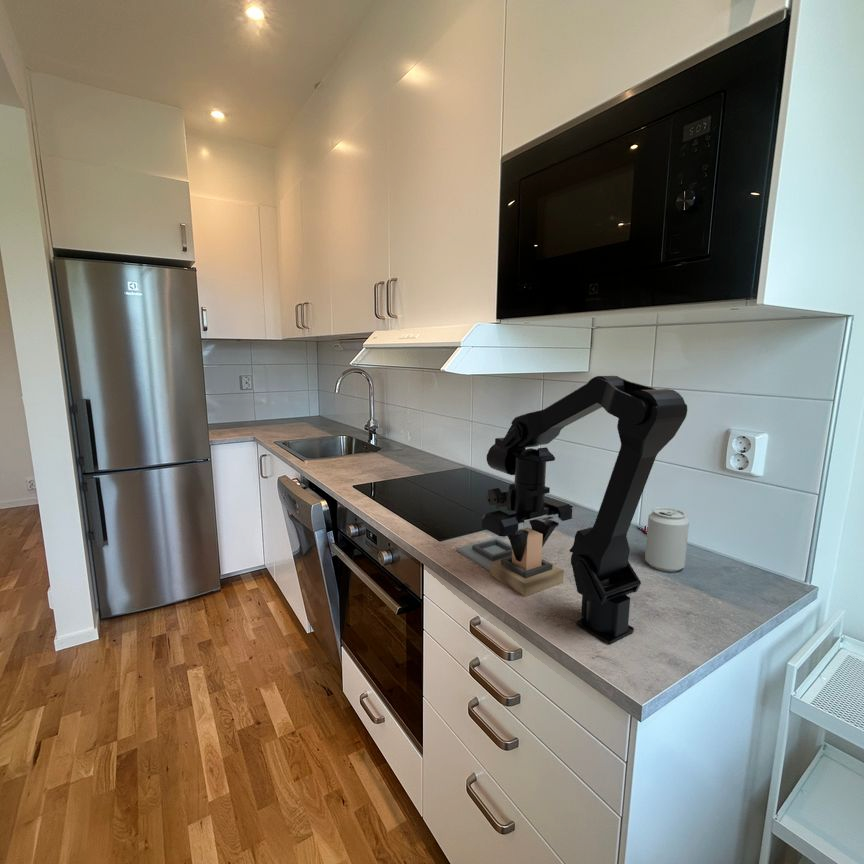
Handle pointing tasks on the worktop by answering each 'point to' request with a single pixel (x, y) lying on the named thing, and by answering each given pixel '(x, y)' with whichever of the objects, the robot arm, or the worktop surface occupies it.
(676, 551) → the can
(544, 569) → the beige square socket
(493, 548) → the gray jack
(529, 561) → the plug
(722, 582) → the worktop surface
